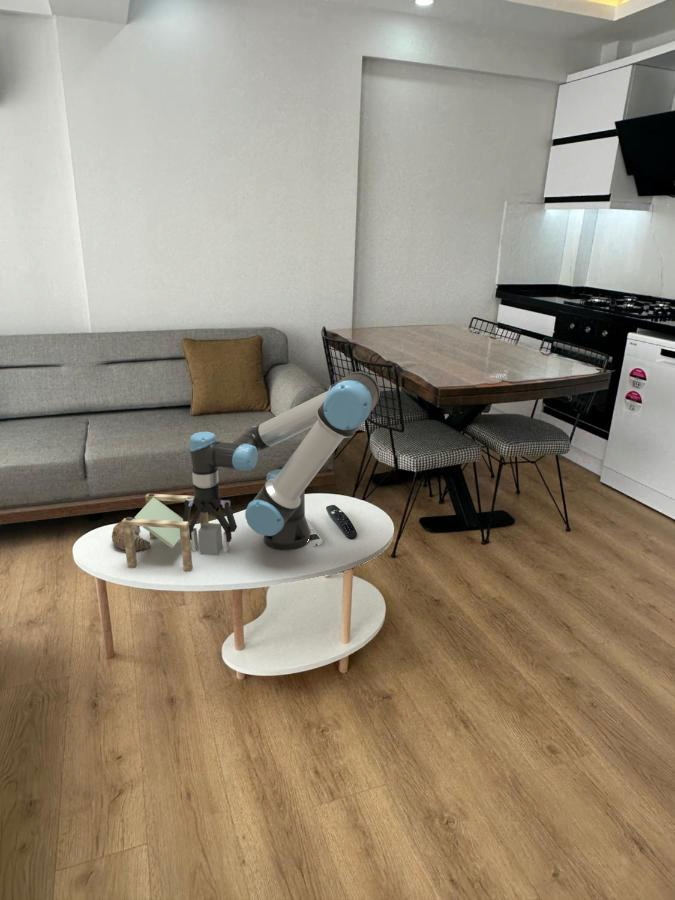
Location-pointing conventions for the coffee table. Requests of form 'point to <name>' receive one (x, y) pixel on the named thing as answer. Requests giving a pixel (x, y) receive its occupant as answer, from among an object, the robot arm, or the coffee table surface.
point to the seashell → (119, 538)
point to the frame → (183, 526)
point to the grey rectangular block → (210, 539)
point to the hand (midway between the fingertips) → (211, 549)
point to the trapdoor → (160, 512)
